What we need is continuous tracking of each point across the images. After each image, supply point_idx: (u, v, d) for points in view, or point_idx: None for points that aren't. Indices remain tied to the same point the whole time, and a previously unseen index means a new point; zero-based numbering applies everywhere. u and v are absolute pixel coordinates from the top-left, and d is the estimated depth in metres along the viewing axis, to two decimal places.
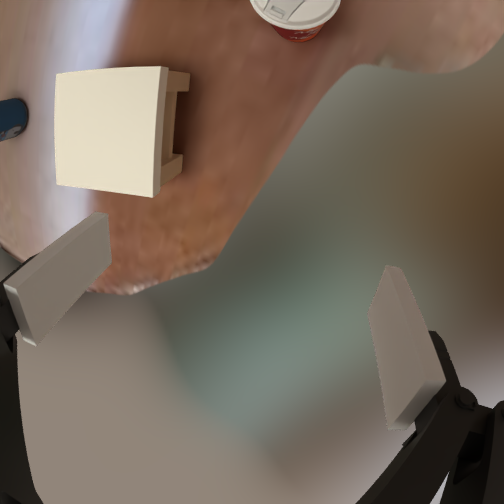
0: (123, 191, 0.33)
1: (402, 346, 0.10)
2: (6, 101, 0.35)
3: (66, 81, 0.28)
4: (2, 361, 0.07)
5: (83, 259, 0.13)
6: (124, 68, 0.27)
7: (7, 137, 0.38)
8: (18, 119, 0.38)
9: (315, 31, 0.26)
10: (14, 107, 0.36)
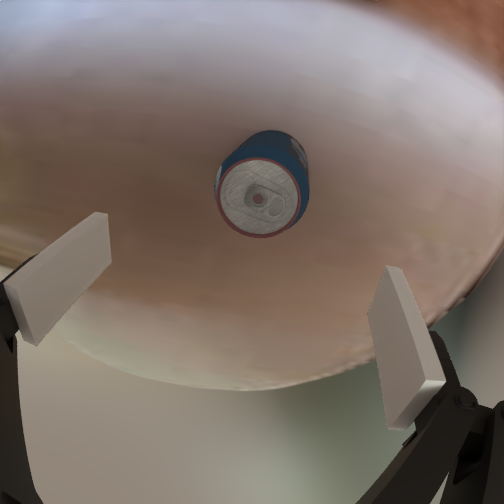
0: None
1: (402, 346, 0.10)
2: None
3: None
4: (2, 361, 0.07)
5: (83, 259, 0.13)
6: None
7: (305, 158, 0.27)
8: (278, 133, 0.28)
9: None
10: (252, 136, 0.28)
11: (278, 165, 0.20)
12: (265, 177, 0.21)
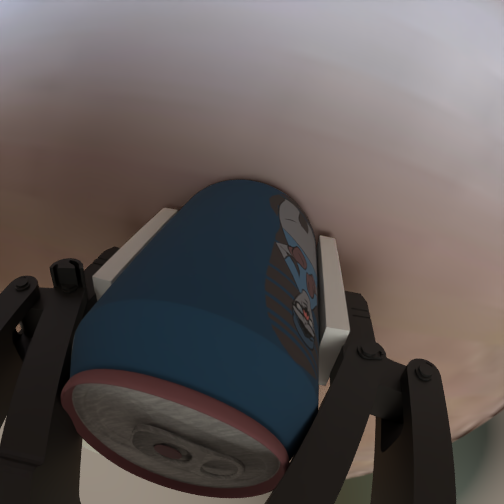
0: None
1: (319, 302, 0.11)
2: None
3: None
4: None
5: None
6: None
7: (312, 258, 0.12)
8: (251, 191, 0.13)
9: None
10: (194, 200, 0.13)
11: (210, 410, 0.05)
12: (177, 419, 0.06)
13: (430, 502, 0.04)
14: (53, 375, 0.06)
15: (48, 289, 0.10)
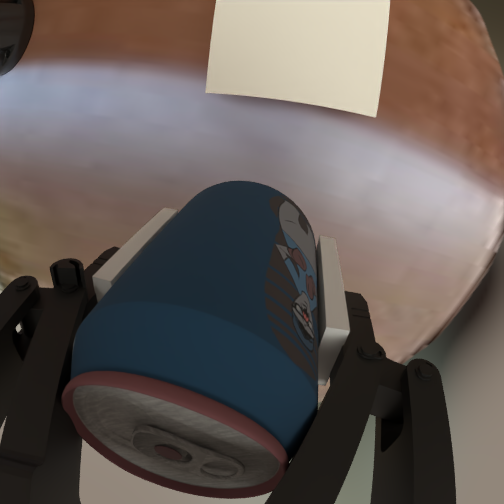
0: (387, 4, 0.18)
1: (319, 302, 0.11)
2: None
3: (220, 72, 0.23)
4: None
5: None
6: None
7: (312, 259, 0.12)
8: (251, 193, 0.13)
9: None
10: (194, 201, 0.13)
11: (210, 411, 0.05)
12: (177, 420, 0.06)
13: (430, 502, 0.04)
14: (53, 376, 0.06)
15: (48, 289, 0.10)
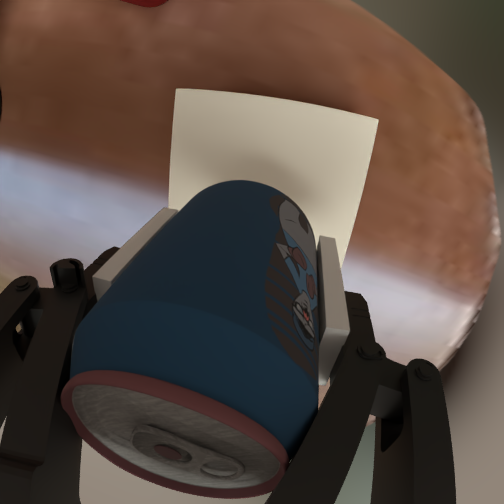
0: (364, 169, 0.21)
1: (319, 302, 0.11)
2: None
3: None
4: None
5: None
6: (173, 144, 0.22)
7: (312, 258, 0.12)
8: (251, 192, 0.13)
9: None
10: (194, 200, 0.13)
11: (210, 411, 0.05)
12: (177, 420, 0.06)
13: (430, 502, 0.04)
14: (53, 376, 0.06)
15: (48, 289, 0.10)
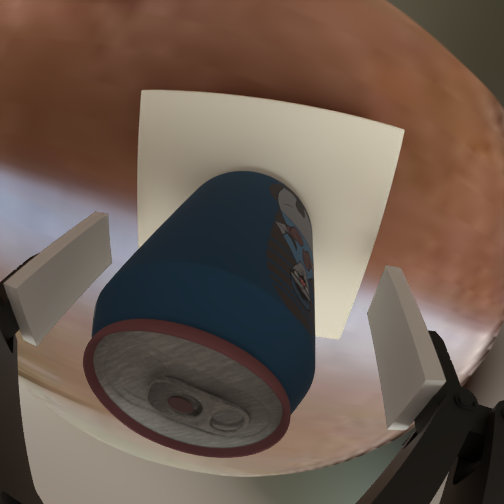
0: (384, 194, 0.16)
1: (402, 346, 0.10)
2: None
3: None
4: (2, 361, 0.07)
5: (83, 259, 0.13)
6: (139, 161, 0.17)
7: (308, 239, 0.13)
8: (253, 180, 0.14)
9: None
10: (201, 188, 0.14)
11: (222, 350, 0.06)
12: (191, 366, 0.07)
13: None
14: None
15: None
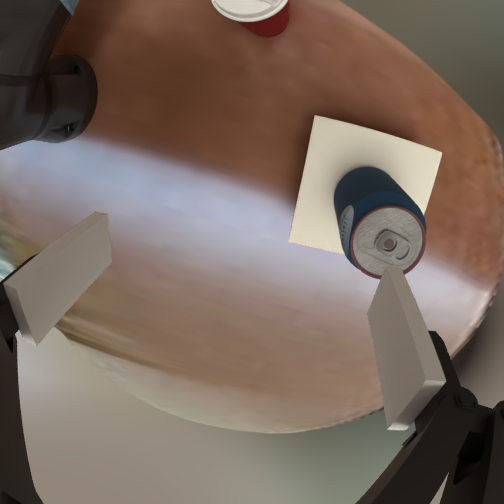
0: (431, 184, 0.30)
1: (402, 346, 0.10)
2: (342, 187, 0.28)
3: (301, 228, 0.35)
4: (2, 361, 0.07)
5: (83, 259, 0.13)
6: (308, 155, 0.31)
7: None
8: (380, 171, 0.28)
9: None
10: (357, 172, 0.28)
11: (412, 215, 0.20)
12: (398, 224, 0.21)
13: None
14: None
15: None
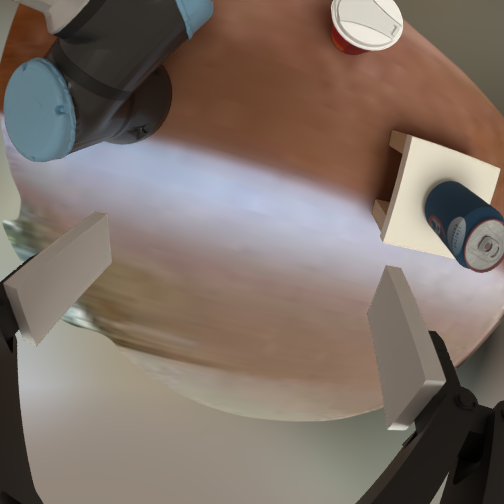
0: (491, 194, 0.33)
1: (402, 346, 0.10)
2: (438, 199, 0.31)
3: (394, 231, 0.38)
4: (2, 361, 0.07)
5: (83, 259, 0.13)
6: (405, 169, 0.34)
7: None
8: (463, 186, 0.31)
9: None
10: (448, 187, 0.31)
11: (503, 225, 0.23)
12: (494, 232, 0.24)
13: None
14: None
15: None
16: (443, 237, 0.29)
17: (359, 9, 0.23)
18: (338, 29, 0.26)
